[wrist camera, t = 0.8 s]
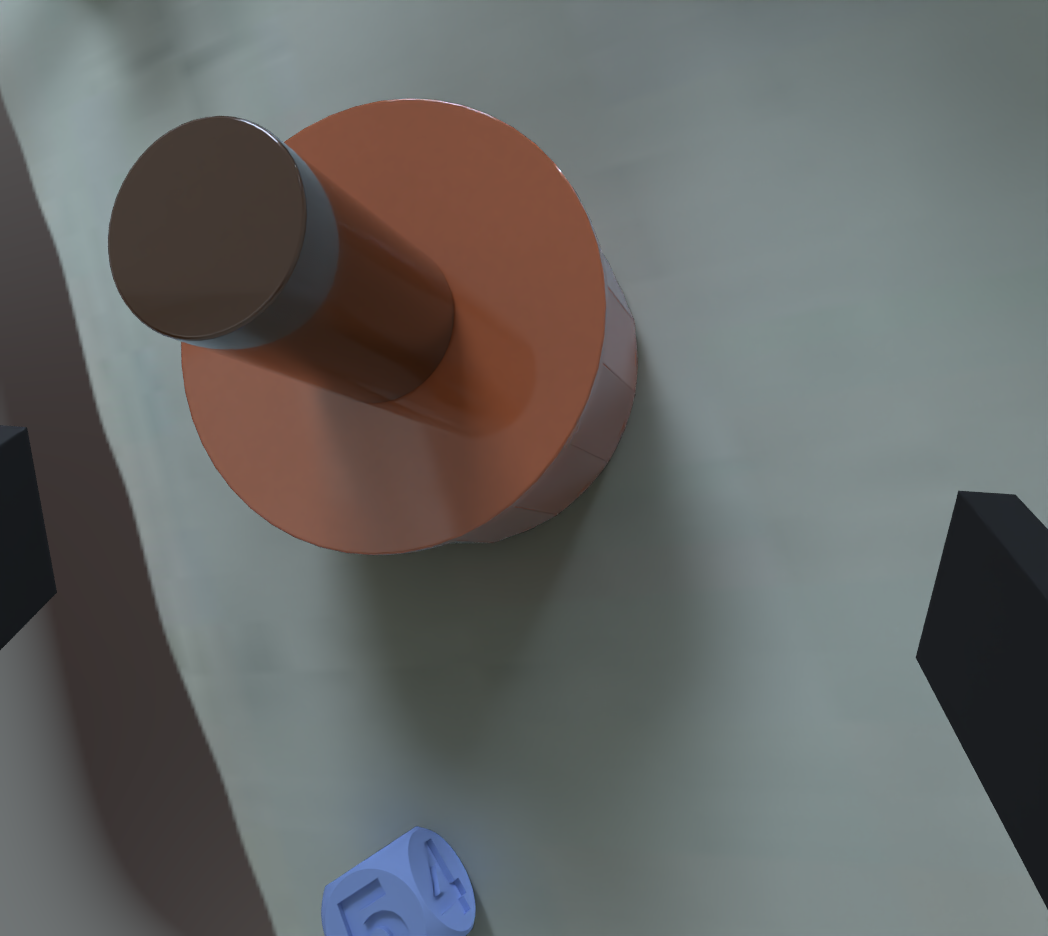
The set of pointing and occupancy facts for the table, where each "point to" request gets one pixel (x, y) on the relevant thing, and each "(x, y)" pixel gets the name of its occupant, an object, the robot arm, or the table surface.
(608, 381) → the pot
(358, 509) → the lid
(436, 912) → the decorative dice
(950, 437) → the table surface
